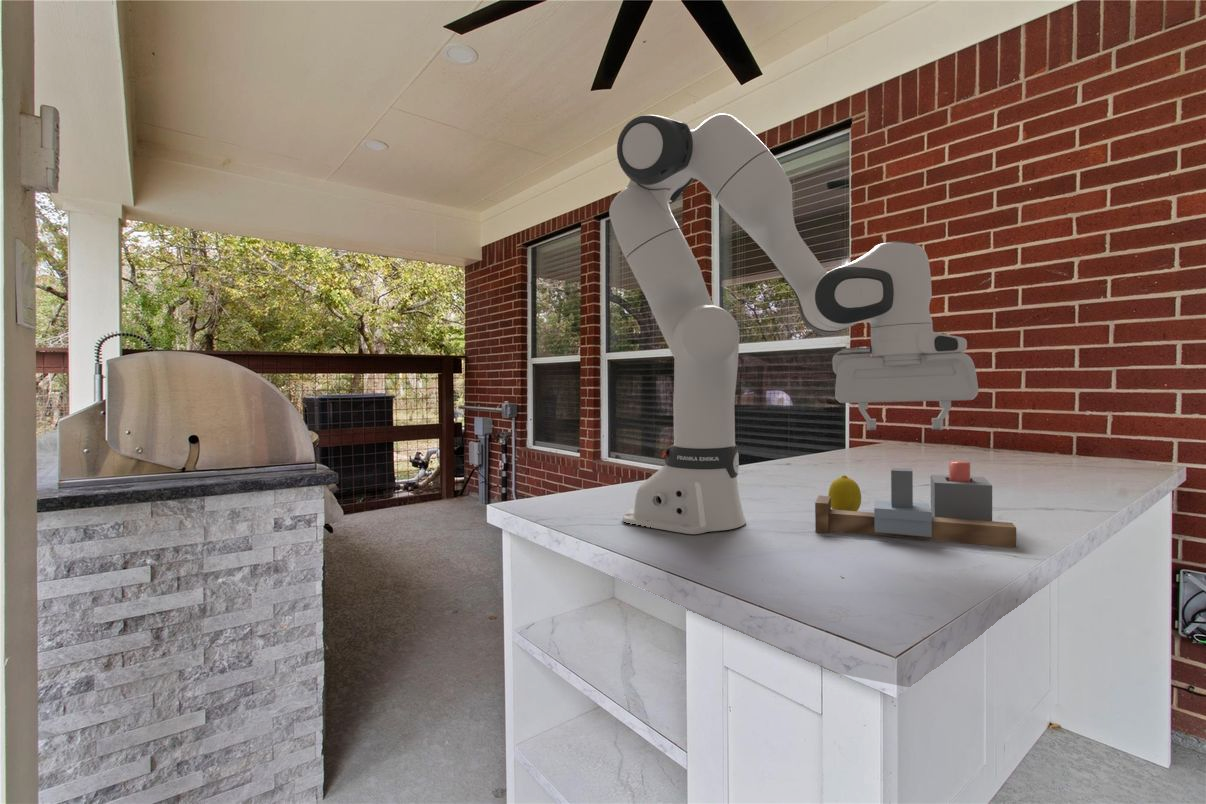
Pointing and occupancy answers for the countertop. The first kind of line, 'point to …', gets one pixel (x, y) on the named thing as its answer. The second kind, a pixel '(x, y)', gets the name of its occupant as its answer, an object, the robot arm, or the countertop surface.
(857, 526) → the rail
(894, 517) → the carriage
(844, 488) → the lemon
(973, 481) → the grey block
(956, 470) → the pink block
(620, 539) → the countertop surface
